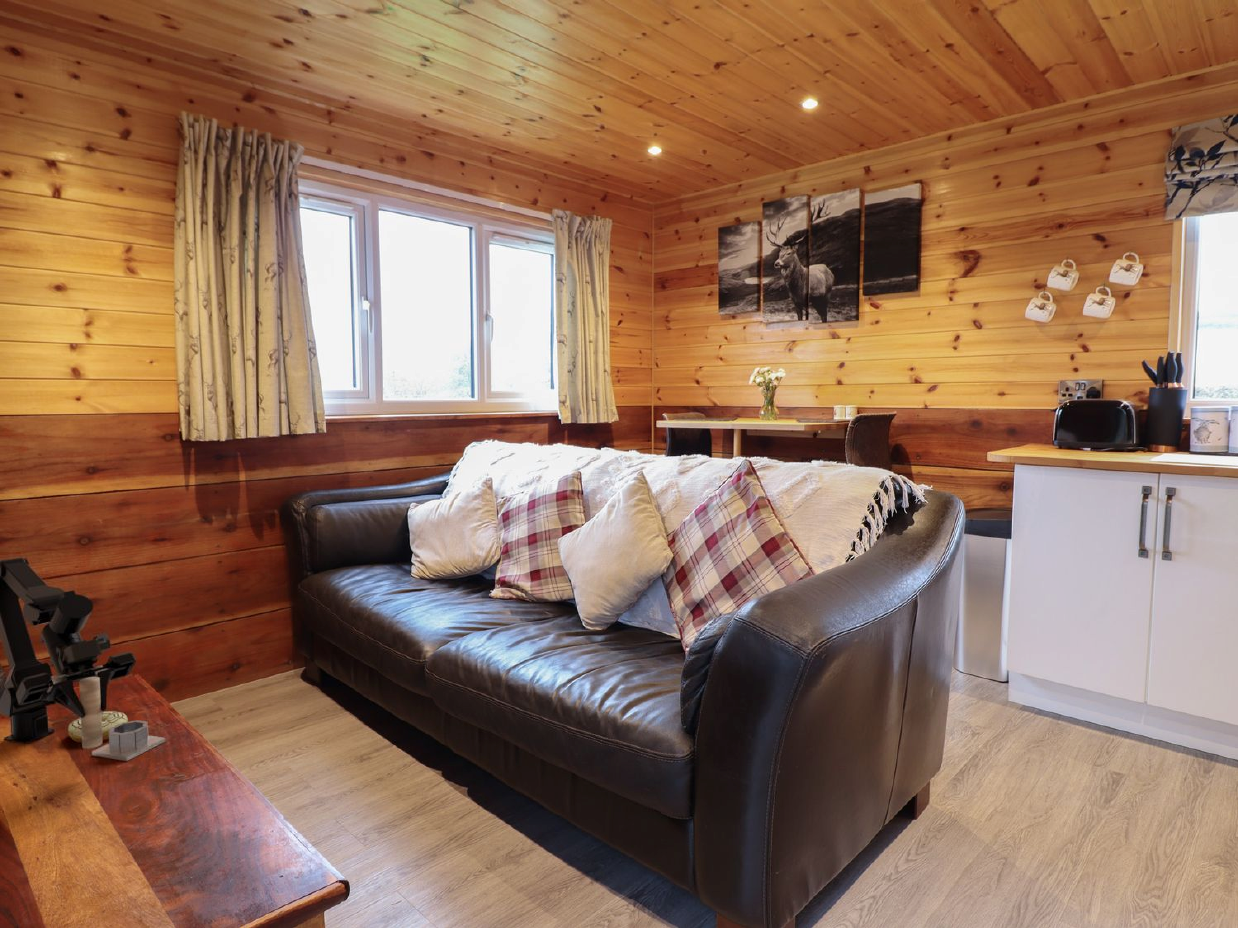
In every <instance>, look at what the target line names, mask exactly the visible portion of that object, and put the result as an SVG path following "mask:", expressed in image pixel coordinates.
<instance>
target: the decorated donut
mask: <svg viewBox="0 0 1238 928" xmlns="http://www.w3.org/2000/svg"><path fill="white" fill-rule="evenodd" d="M101 719H102V740H103V741H109V730H110V728H112V727H114V726H116V725H118V724H121V723H124V722H129V719H128V716H127V715H126V714H125V713H124V712H119V711H115V710H110V711H109V710H108V711H104V712H103V711H101ZM67 727H68V728H67V733H68V736H69V738H70V739H71V740H72V741H74V742H77V743H82V729H81V717H79V718H77V719H75V720H73V721H71V722H70V723H69V725H68V726H67Z"/></svg>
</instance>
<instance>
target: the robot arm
mask: <svg viewBox="0 0 1238 928" xmlns="http://www.w3.org/2000/svg"><path fill="white" fill-rule="evenodd" d="M20 600H21V601H22V602H23V604H24V605H23V607H21V603H20ZM93 609H94V603H93V601H92V600H91V599H89V598H88V597H86V596H85V595H81V594H78V593H76V591H75V590H68V591H65V590H64V589H62V588H59V587H55V586H50V585H48V584H47V583H46V582H45V581H44V579H42V577H40V576H39V575H38V574H37V572H36V571H35V570H34V569H33V568H31V567H30V564H29V561H28V559H27V558H25V557H15V558H9V559H0V639H1V643H2V647H3V650H4V653H5V656H6V660H7V663H8V668H9V672H8V675H7V677H6V680H5V682H4V685H3V686H4V691H3V693H2V695H1V697H0V714H1V715H4V716H6V717H7V718H10V735H9V734H8V735H7V736H5V737H3V741H5V742H12V743H19V744H23V745H25V744H28V743H31V742H33V741H37V740H38V739H40V738H43V737H45V736H48V735H50V734H52V733H55V732H56V729H55V728H53V727H49V716H48V708H47V707H48V706H52V705H56V704H59V705H61V706H63V707H64V708H66V709H68V711H71V712H72V713H74V714H75V715H76V716H78V717H79V718H84V717H85V712H84V709H83V706H82V704H81V702H80V698H79V697H78V695H77V693H76V691H75V689H74V683H77V682H78V683H79V681H80V680H82V679H85V678H89V677H99V678H100V697H101V712H106V710H107V701H108V700H107V698H108V697H107V696H108V695H107V694H108V685H109V683H110V682H111V681H115V680H118V679H121V678H125V677H127V676H129V675H130V673H131V672H132V670H133V668H134V666H135V665H136V663H137V662H138V661H137V658H136V656H135V654H134V653H132V652H131V651H126V652H122V653H117V654H114V655H110V656H109V658H108V659H107V662H106V663H104V664H101V665H96V666H95V664H97V663H98V661H99V657H98V656H103V652H106V651H108V650H109V649H111V647H112V643H111V640H110V638H109V636H108V634H107V633H101V634H96V636H94V637H93V639H90V640H86V639H84V640H83V638H82V635H81V634H80V631H82V629H84V627H85V626H86V624H87V622H88V619H89V617H90V615H92V614H91V613H92V611H93ZM26 622H28V623H29V625H31V626H33V627H36V626H40V625H44V627H43V628H42V629H41V632H40V643H42V644H44V646H45V649H46V650H47V653H48V655H49V658H50V661H49V663H48V662H42V661H39V660H38V659H37V656H36V653H35V649H34V646H33V643H32V638H31V635H30V633H29V629H28V626H27V623H26ZM45 624H46V625H45ZM52 667H53V669H54V670H55V673H56V675H53V672H52Z"/></svg>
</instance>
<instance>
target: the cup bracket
mask: <svg viewBox="0 0 1238 928" xmlns="http://www.w3.org/2000/svg"><path fill="white" fill-rule="evenodd" d="M108 742H109V743H107V744H105V745H103V746H99V747H98V748H97V749H96V748H95V749H94V750H92V751H91V755H92V756H94V757H101V758H105V759H113V760H118V761H123V762H124V761H125V762H127V761H129V760H132V759H134V758H136V757H138V756H140V755H142V754H144V753H145V752H147V751H150V750H153V748H156V747H158V746H160V745H161V744H163V743H165V742H166V737H161V736H156V735H149V722H148V721H146V720H145V721H144V720H137V719H135V720H131V721H127V722H124V723H121V724H118V725H116V726H114V727H112V728H110V730H109V739H108Z"/></svg>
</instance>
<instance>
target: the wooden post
mask: <svg viewBox="0 0 1238 928" xmlns="http://www.w3.org/2000/svg"><path fill="white" fill-rule="evenodd" d="M78 685H79V700H80V702H81V704H82V706H83V709H84V712H85V717H84V718H81V717H80V718H81V729H82V742H81V745H82V749H84V750H85V749H86V750H90V749H94V748H95V749H96V748H97V747H98V748H99V747H101V745H103V741H104V740H102V719H101V712H102V710H101V697H100V678H99V677H89V678H85V679H82V680H80V681H78Z"/></svg>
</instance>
